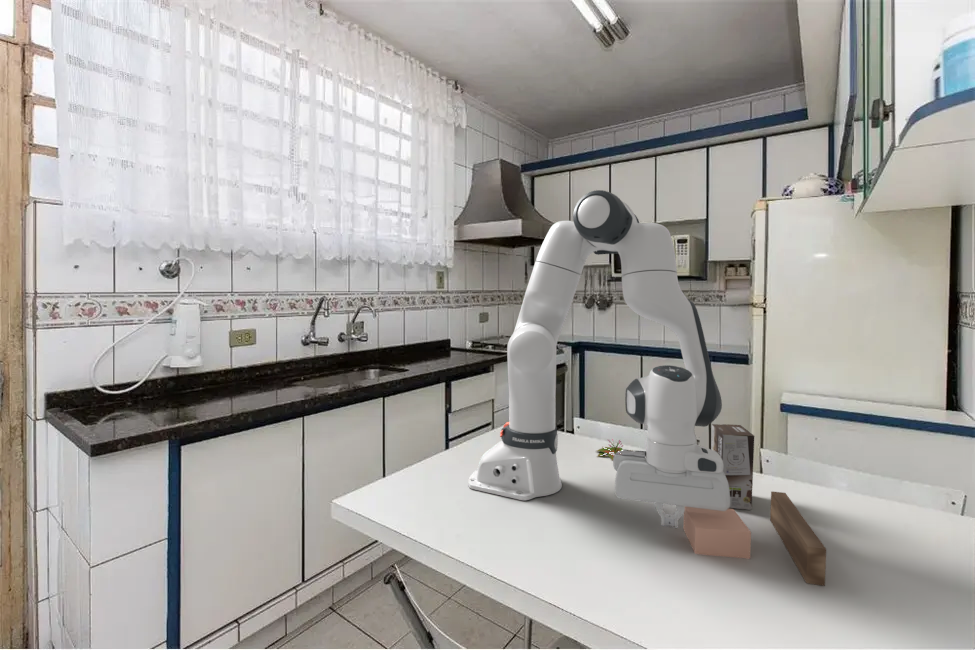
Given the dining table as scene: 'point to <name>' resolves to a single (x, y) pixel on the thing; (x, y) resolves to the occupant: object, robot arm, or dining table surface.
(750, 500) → the coffee box
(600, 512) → the dining table surface
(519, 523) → the dining table surface
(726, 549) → the terracotta block
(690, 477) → the robot arm
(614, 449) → the lily flower
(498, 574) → the dining table surface
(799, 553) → the walnut board
